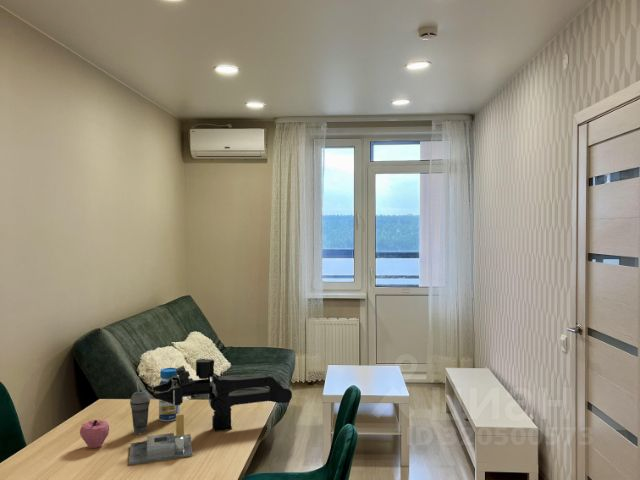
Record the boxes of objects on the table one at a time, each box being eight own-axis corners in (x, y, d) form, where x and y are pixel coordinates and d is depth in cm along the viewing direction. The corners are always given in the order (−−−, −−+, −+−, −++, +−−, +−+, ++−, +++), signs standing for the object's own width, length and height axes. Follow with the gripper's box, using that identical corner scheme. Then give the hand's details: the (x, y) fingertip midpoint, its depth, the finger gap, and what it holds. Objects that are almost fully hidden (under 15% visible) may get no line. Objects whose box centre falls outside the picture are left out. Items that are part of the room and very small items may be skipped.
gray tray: (189, 438, 183) (188, 421, 183) (192, 456, 168) (192, 438, 168) (130, 446, 177) (130, 429, 177) (129, 465, 162) (128, 446, 161)
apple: (114, 443, 179) (114, 415, 179) (96, 453, 171) (96, 424, 171) (93, 440, 182) (93, 412, 182) (74, 449, 174) (74, 421, 174)
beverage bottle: (184, 417, 205) (184, 368, 205) (168, 423, 198) (167, 373, 198) (170, 413, 210) (170, 365, 210) (154, 419, 203) (153, 370, 203)
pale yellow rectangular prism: (183, 434, 187) (183, 413, 187) (183, 437, 184) (183, 415, 184) (176, 435, 186) (175, 414, 186) (176, 438, 183) (176, 416, 183)
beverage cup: (143, 436, 186) (143, 382, 186) (126, 434, 187) (125, 381, 187) (154, 428, 193) (153, 377, 193) (137, 427, 194) (136, 376, 194)
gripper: (193, 360, 199) (152, 364, 194) (198, 372, 181) (152, 377, 176) (194, 388, 199) (152, 393, 194) (198, 403, 181) (153, 408, 176)
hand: (152, 392), depth 185 cm, fingers open, 9 cm apart
